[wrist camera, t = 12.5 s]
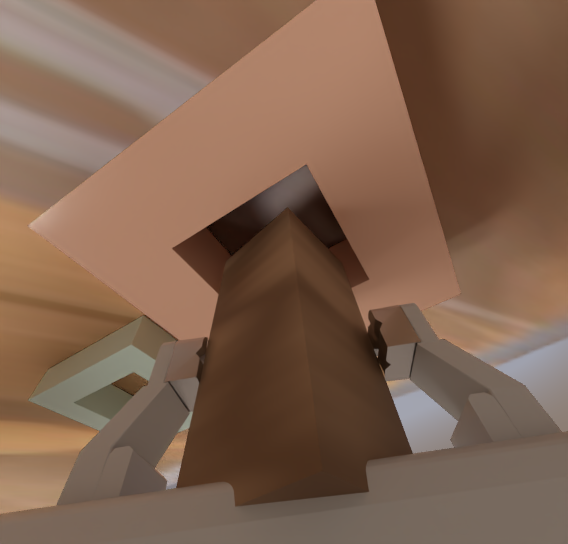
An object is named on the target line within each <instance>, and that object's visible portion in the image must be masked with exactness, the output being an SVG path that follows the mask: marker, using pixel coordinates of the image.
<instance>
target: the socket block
mask: <svg viewBox="0 0 568 544" xmlns="http://www.w3.org/2000/svg"><path fill="white" fill-rule="evenodd" d="M306 164H307V166H308V168H309V170H310V172H311V174H312V175H313V177H314V179H315V181H316V183H317V184H318V186H319V188H320V190H321V192H322V194H323V195H324V197H325V199H326V201H327V203H328V205H329V206H330V208H331V210H332V212H333V214H334V216H335V217H336V219H337V221H338V223H339V225H340V227H341V228H342V230H343V232H344V234H345V236H346V238H347V239H345V240H344V241H342V242H340V243H338V244H336V245H334V246H332V247H330V248H328V249H329V250H330V251H331V252H332V253H333V254H334V255H335V256H336V257H337V258H338V259H339V260H340V261H341V262H342V264H343V267H344V269H345V272H346V275H347V278H348V280H349V283H350V286H351V288H352V291H353V294H354V296H355V299H356V302H357V305H358V307H359V310H360V313H361V315H362V318H363V321H364V323H365V326H366V329H367V332H368V326H369V325H370V321H369V319H368V313H369V310H373V309H379V308H385V307H390V306H396V305H403V304H409V303H415V304H416V305H417V306H418V308H419V309H420V311H423V310H425V309H427V308H430V307H432V306H434V305H437V304H439V303H441V302H444V301H446V300H448V299H451V298H453V297H455V296H458V295H460V294H461V291H460V288H459V285H458V281H457V278H456V274H455V271H454V268H453V264H452V261H451V257H450V254H449V251H448V247H447V244H446V240H445V237H444V233H443V230H442V227H441V223H440V220H439V216H438V213H437V210H436V206H435V203H434V199H433V196H432V193H431V189H430V186H429V182H428V179H427V176H426V172H425V169H424V165H423V162H422V159H421V155H420V152H419V148H418V145H417V142H416V138H415V135H414V131H413V128H412V125H411V121H410V118H409V114H408V111H407V107H406V104H405V101H404V97H403V94H402V90H401V87H400V84H399V80H398V77H397V73H396V70H395V67H394V63H393V60H392V56H391V53H390V50H389V46H388V43H387V39H386V36H385V33H384V29H383V26H382V22H381V19H380V16H379V12H378V9H377V5H376V2H375V0H316V1H314V2H313V3H312V4H311V5H309V6H308V7H307V8H306V9H304V10H303V11H302V12H300V13H299V14H298V15H297V16H295V17H294V18H293V19H291V20H290V21H289V22H288V23H286V24H285V25H284V26H282V27H281V28H280V29H279V30H277V31H276V32H275V33H273V34H272V35H271V36H270V37H268V38H267V39H266V40H265V41H263V42H262V43H261V44H259V45H258V46H257V47H256V48H254V49H253V50H252V51H250V52H249V53H248V54H247V55H245V56H244V57H243V58H241V59H240V60H239V61H238V62H236V63H235V64H234V65H232V66H231V67H230V68H229V69H227V70H226V71H225V72H224V73H222V74H221V75H220V76H218V77H217V78H216V79H215V80H213V81H212V82H211V83H209V84H208V85H207V86H206V87H204V88H203V89H202V90H200V91H199V92H198V93H197V94H195V95H194V96H193V97H192V98H190V99H189V100H188V101H186V102H185V103H184V104H183V105H181V106H180V107H179V108H177V109H176V110H175V111H174V112H172V113H171V114H170V115H168V116H167V117H166V118H165V119H163V120H162V121H161V122H159V123H158V124H157V125H156V126H154V127H153V128H152V129H151V130H149V131H148V132H147V133H145V134H144V135H143V136H142V137H140V138H139V139H138V140H136V141H135V142H134V143H133V144H131V145H130V146H129V147H127V148H126V149H125V150H124V151H122V152H121V153H120V154H118V155H117V156H116V157H115V158H113V159H112V160H111V161H110V162H108V163H107V164H106V165H104V166H103V167H102V168H101V169H99V170H98V171H97V172H95V173H94V174H93V175H92V176H90V177H89V178H88V179H86V180H85V181H84V182H83V183H81V184H80V185H79V186H78V187H76V188H75V189H74V190H72V191H71V192H70V193H69V194H67V195H66V196H65V197H63V198H62V199H61V200H60V201H58V202H57V203H56V204H54V205H53V206H52V207H51V208H49V209H48V210H47V211H45V212H44V213H43V214H42V215H40V216H39V217H38V218H37V219H35V220H34V221H33V222H31V223H30V224H29V225H28V227H30V228H31V229H32V230H34V231H35V232H36V233H38V234H39V235H40V236H42V237H43V238H44V239H46V240H47V241H48V242H50V243H51V244H52V245H54V246H55V247H56V248H57V249H59V250H60V251H61V252H63V253H64V254H65V255H67V256H68V257H69V258H71V259H72V260H73V261H75V262H76V263H77V264H79V265H80V266H81V267H83V268H84V269H85V270H87V271H88V272H89V273H91V274H92V275H93V276H95V277H96V278H97V279H99V280H100V281H101V282H103V283H104V284H105V285H107V286H108V287H109V288H111V289H112V290H113V291H115V292H116V293H117V294H119V295H120V296H121V297H123V298H124V299H125V300H127V301H128V302H129V303H131V304H132V305H133V306H135V307H136V308H137V309H139V310H140V311H141V312H142V313H144V314H145V315H146V316H148V317H149V318H150V319H152V320H153V321H154V322H156V323H157V324H158V325H160V326H161V327H162V328H164V329H165V330H166V331H168V332H169V333H170V334H172V335H173V336H174V337H176V338H177V339H178V340H187V339H194V338H201V337H208V339H209V336H210V331H211V327H212V322H213V317H214V313H215V308H216V304H217V299H218V295H219V290H220V285H221V281H222V276H223V272H224V267H225V263H226V261H227V260H228V259H229V258H230V257H232V256H231V255H230V254H229V253H228V252H227V251H226V250H225V248H224V247H223V246H222V245H221V244H220V243H219V242H218V241H217V239H216V238H215V237H214V236H213V235H212V234H211V233H210V232H209V230H208V229H207V228H206V227H207V226H208V225H210V224H212V223H213V222H215V221H216V220H218V219H220V218H221V217H223V216H224V215H226V214H228V213H229V212H231V211H232V210H234V209H236V208H237V207H239V206H240V205H242V204H244V203H245V202H247V201H248V200H250V199H252V198H253V197H255V196H256V195H258V194H260V193H261V192H263V191H264V190H266V189H268V188H269V187H271V186H272V185H274V184H276V183H277V182H279V181H280V180H282V179H284V178H285V177H287V176H288V175H290V174H292V173H293V172H295V171H296V170H298V169H300V168H301V167H303V166H304V165H306Z"/></svg>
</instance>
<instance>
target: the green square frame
mask: <svg viewBox="0 0 568 544" xmlns="http://www.w3.org/2000/svg"><path fill="white" fill-rule="evenodd" d="M174 341H178V340H176V339H175V338H174V337H172V336H171V335H170V334H168V333H167V332H166V331H164V330H163V329H162V328H160V327H159V326H158V325H156V324H155V323H154V322H152V321H151V320H150V319H148V318H147V317H146V316H144V315H143V316H142V317H140V318H138V319H136V320H135V321H133V322H131V323H129V324H127V325H126V326H124V327H122V328H120V329H119V330H117V331H115V332H113V333H112V334H110V335H108V336H106V337H104V338H103V339H101V340H99V341H97V342H96V343H94V344H92V345H90V346H89V347H87V348H85V349H83V350H82V351H80V352H78V353H76V354H74V355H73V356H71V357H69V358H67V359H66V360H64V361H62V362H60V363H59V364H57V365H55V366H53V367H51V368H50V369H48V370H47V372H46V373H45V375H44V376H43V378H42V379H41V381H40V383H39V384H38V386H37V387H36V389H35V390H34V392H33V393H32V395H31V396H30V398H29V399H28V401H30V402H33V403H35V404H37V405H40V406H42V407H45V408H47V409H49V410H52V411H54V412H56V413H59V414H61V415H63V416H66V417H68V418H70V419H73V420H75V421H77V422H80V423H82V424H85V425H87V426H89V427H92V428H94V429H96V430H99V431H101V429H102V428H103V427H104V426H105V425H106V424H107V423H108V422H109V421H110V420H111V419H112V418H113V417H114V416H115V415H116V414H117V413H118V412H119V411H120V410H121V409H122V408H123V407H124V406H125V404H126V403H127V402H128V401H129V400H130V399H131V398H132V397H133V396H132V395H130V394H128V393H126V392H125V391H123V390H121V389H119V388H117V387H115V386H113V385H112V384H111V383H113V382H115V381H117V380H119V379H121V378H123V377H125V376H127V375H129V374H131V373H133V372H134V373H136V374H138V375H139V376H141V377H143V378H144V379H146V380H148V381H149V379H150V376H151V373H152V370H153V367H154V364H155V361H156V358H157V355H158V352H159V349H160V347H161V345H162V344H163V343H166V342H174ZM189 413H190V414H189V416H188V417H187V419H186V420H185V422H184V423H183V425H182V426H181V428H180V430H179V431H178V432H181V431H183V430H186V429H188V428H189V427H190V423H191V418H192V413H193V412H189Z"/></svg>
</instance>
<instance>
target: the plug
mask: <svg viewBox="0 0 568 544" xmlns="http://www.w3.org/2000/svg"><path fill="white" fill-rule="evenodd" d="M407 454H413V453H412V450H411V448H410V445H409V442H408V439H407V437H406V434H405V431H404V429H403V426H402V423H401V421H400V418H399V415H398V412H397V410H396V407H395V404H394V402H393V399H392V396H391V394H390V391H389V388H388V385H387V383H386V380H385V377H384V375H383V372H382V369H381V367H380V364H379V361H378V358H377V356H376V353H375V350H374V348H373V346H372V343H371V341H370V338H369V336H368V332H367V329H366V326H365V323H364V321H363V318H362V315H361V313H360V310H359V307H358V305H357V302H356V299H355V296H354V294H353V291H352V288H351V286H350V283H349V280H348V278H347V275H346V272H345V269H344V267H343V264H342V262H341V261H340V260H339V259H338V258H337V257H336V256H335V255H334V254H333V253H332V252H331V251H330V250H329V249H328V248H327V247H326V246H325V245H324V244H323V243H322V242H321V241H320V240H319V239H318V238H317V237H316V236H315V235H314V234H313V233H312V232H311V231H310V230H309V229H308V228H307V227H306V226H305V225H304V224H303V223H302V222H301V221H300V220H299V218H298V217H297V216H296V215H295V214H294V213H293V212H292V211H291V210H290V209H289V208H288V207H287V208H286V209H285V210H284V211H283V212H282V213H281V214H279V215H278V216H277V217H276V218H275V219H274V220H273V221H271V222H270V223H269V224H268V225H267V226H266V227H265V228H264V229H262V230H261V231H260V232H259V233H258V234H257V235H256V236H254V237H253V238H252V239H251V240H250V241H249V242H248V243H246V244H245V245H244V246H243V247H242V248H241V249H240V250H238V251H237V252H236V253H235V254H234V255H233V256H232V257H230V258H229V259H228V260H227V261H226V263H225V267H224V272H223V276H222V281H221V285H220V290H219V295H218V299H217V304H216V308H215V313H214V317H213V322H212V327H211V331H210V336H209V340H208V345H207V349H206V354H205V359H204V363H203V370H202V375H201V380H200V383H199V386H198V391H197V395H196V400H195V404H194V409H193V413H192V418H191V423H190V427H189V432H188V436H187V441H186V445H185V450H184V455H183V459H182V464H181V468H180V473H179V477H178V482H177V487H176V488H181V487H188V486H194V485H201V484H208V483H215V482H227V483H229V484H230V485H231V486H232V487H233V490H234V500H235V507H236V506H245V505H254V504H263V503H272V502H282V501H291V500H300V499H309V498H318V497H327V496H336V495H345V494H355V493H364V492H369V488H368V481H367V475H366V465H367V462H368V461H369V460H373V459H380V458H387V457H394V456H400V455H407Z"/></svg>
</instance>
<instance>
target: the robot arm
mask: <svg viewBox="0 0 568 544" xmlns="http://www.w3.org/2000/svg"><path fill="white" fill-rule="evenodd" d="M368 319H369V321H370V325H369V326H368V336H369V338H370V341H371V343H372V346H373V348H374V350H375V353H376V356H378V361H379V364H380V367H381V369H382V372H383V375H384V377H385V380H386V381H393V380H400V379H408V378H410V380H411V381H412V382H413V383H415V384H416V385H417V386H418V387H419V388H420V389H421V390H423V391H424V392H425V393H426V394H427V395H428V396H430V397H431V398H432V399H433V400H434V401H435V402H437V403H438V404H439V405H440V406H441V407H442V408H444V409H445V410H446V411H447V412H448V413H449V414H450V415H452V416H453V417H454V418H455V419H456V420H457V421H458V423H457V425H456V428H455V430H454V432H453V435H452V437H451V439H450V440H451V442H452V444H453V446H454V448H449V449H442V450H435V451H428V452H421V453H415V454H407V455H400V456H394V457H387V458H380V459H373V460H369V461H368V462H367V465H366V475H367V481H368V488H369V492H364V493H355V494H345V495H336V496H327V497H318V498H309V499H300V500H291V501H282V502H272V503H263V504H254V505H245V506H236V507H235V500H234V490H233V487H232V486H231V485H230V484H229V483H227V482H215V483H208V484H201V485H194V486H188V487H181V488H174V489H167V490H166V485H167V480H166V479H165V477H164V476H162V475H161V474H160V473H159V472H158V471H157V470H156V469H155V467H156V465H157V463H158V462H159V460H160V459H161V457H162V456H163V454H164V453H165V451H166V450H167V448H168V446H169V445H170V443H171V442H172V440H173V439H174V437H175V436H176V434H177V433H178V431H179V430H180V428H181V426H182V425H183V423H184V422H185V420H186V419H187V417H188V416H189V414H190V413H189V412H193V409H194V404H195V400H196V395H197V391H198V386H199V383H200V380H201V375H202V370H203V363H204V359H205V354H206V349H207V345H208V340H209V339H208V337H201V338H194V339H187V340H179V341H174V342H166V343H163V344H162V345H161V347H160V349H159V352H158V355H157V358H156V361H155V364H154V367H153V370H152V373H151V376H150V379H149V382H148V385H147V386H143V387H142V388H141V389H140V390H139V391H138V392H137V393H136V394H135V395H134V396H133V397H132V398H131V399H130V400H129V401H128V402H127V403H126V404H125V406H124V407H123V408H122V409H121V410H120V411H119V412H118V413H117V414H116V415H115V416H114V417H113V418H112V419H111V420H110V421H109V422H108V423H107V424H106V425H105V426H104V427H103V428H102V429H101V431H100V432H99V433H98V434H97V435H96V436H95V437H94V438H93V439H92V440H91V441H90V442H89V443H88V444H87V445H86V446H85V447H84V448H83V449H82V450H81V451H80V453H79V455H78V458H77V460H76V462H75V464H74V467H73V469H72V471H71V473H70V475H69V478H68V480H67V482H66V484H65V487H64V489H63V491H62V493H61V496H60V498H59V500H58V502H57V505H56V506H51V507H44V508H37V509H30V510H23V511H16V512H9V513H3V514H0V544H568V431H566V432H562V431H561V430H560V429H559V427H558V426H557V425H556V424H555V423H554V421H553V420H552V419H551V417H550V416H549V415H548V414H547V413H546V411H545V410H544V409H543V407H542V406H541V405H540V404H539V403H538V401H537V400H536V399H535V398H534V396H533V395H532V394H531V393H530V391H529V390H528V389H527V388H526V386H525V385H523V384H522V383H520V382H518V381H516V380H515V379H513V378H511V377H509V376H508V375H506V374H504V373H502V372H501V371H499V370H497V369H495V368H494V367H492V366H490V365H488V364H487V363H485V362H483V361H481V360H480V359H478V358H476V357H474V356H473V355H471V354H469V353H467V352H466V351H464V350H462V349H461V348H459V347H457V346H455V345H454V344H452V343H450V342H448V341H447V340H445V339H440V340H439V338H438V337H437V335H436V334H435V332H434V331H433V329H432V328H431V326H430V325H429V323H428V322H427V320H426V318H425V317H424V315H423V314H422V312H421V311H420V309H419V308H418V306H417V305H416V304H415V303H409V304H403V305H396V306H390V307H385V308H379V309H373V310H369V313H368Z"/></svg>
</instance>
